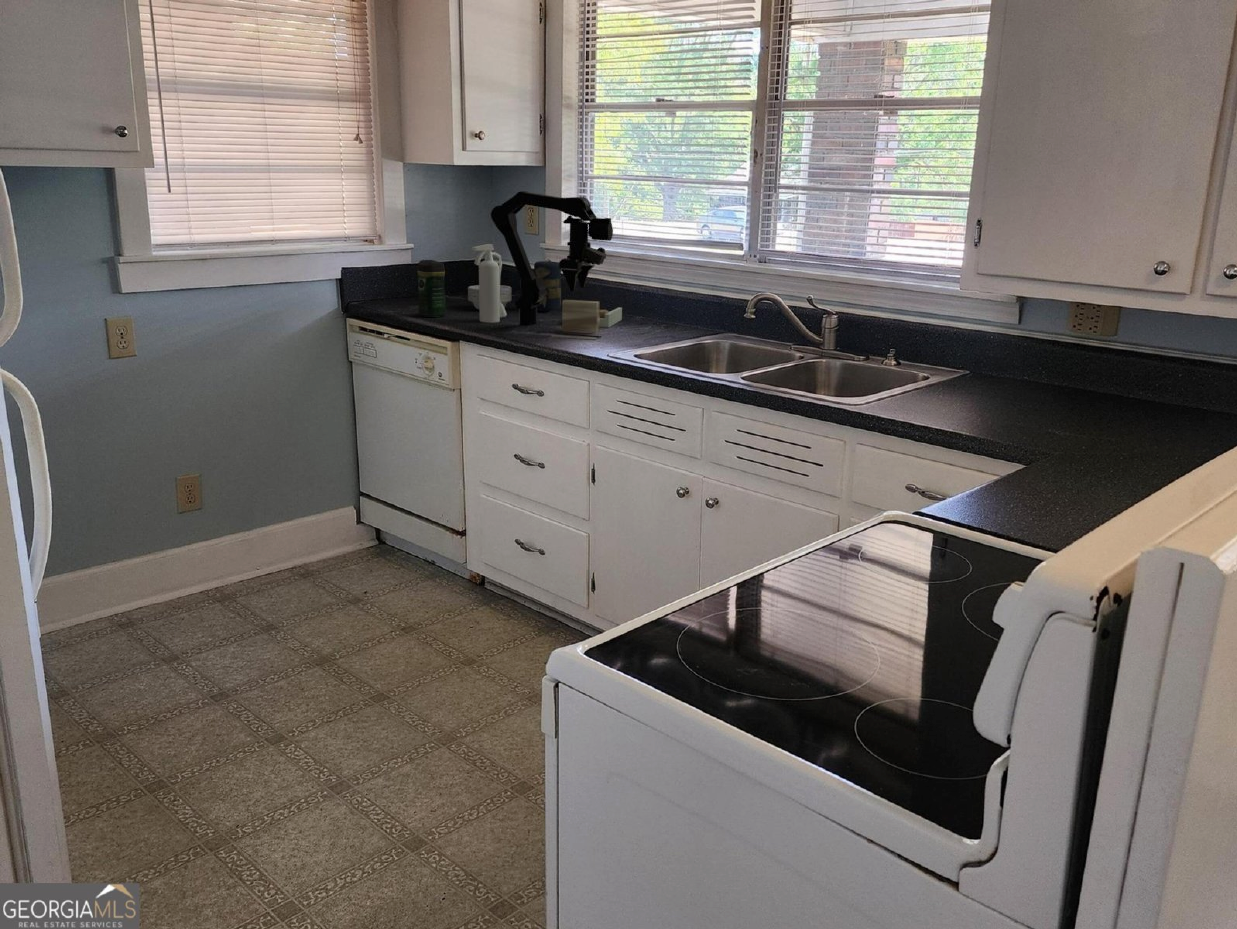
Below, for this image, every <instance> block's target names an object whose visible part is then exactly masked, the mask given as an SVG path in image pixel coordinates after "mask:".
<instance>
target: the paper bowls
mask: <svg viewBox="0 0 1237 929" xmlns="http://www.w3.org/2000/svg"><path fill="white" fill-rule="evenodd" d="M467 287H468V288H467V300H468V301H469V302H472V304H473V306H474V308H475V309H477V310H478V311H480V308H479V284H478V285H477V284H476V285H470V286H467ZM499 298H500V302H501V304H503V307H504V309H505V308H506V306H507V303H509V302H512V287H511V286H509V285H504V284H503V285H501V284H500V297H499Z"/></svg>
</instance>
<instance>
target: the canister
mask: <svg viewBox="0 0 1237 929" xmlns="http://www.w3.org/2000/svg"><path fill="white" fill-rule="evenodd" d="M559 262H560V261H552V260H551V259H549V258H547V259H546V260H544V261H543V260H542V261H541V260H540V261H536V262H534V264H533V265H534V266H533V273H534V274H535V276H536V277H537V278H538V277H542V279H543V283H544V285H545V287H546V289H545V291H546V295H545V297H544V299H543V300H542V301H541V302H540V304H539V306H536V307H537V312H538V311H540V312H551V311H555V310H556V311H558V310H560V309H561V308H562V304H561V301H562V271H561V269H562V268H559Z"/></svg>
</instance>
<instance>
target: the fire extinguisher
mask: <svg viewBox="0 0 1237 929" xmlns="http://www.w3.org/2000/svg"><path fill="white" fill-rule="evenodd" d="M471 251H475V252H477V251H479V252H478V253H477V255H476V257H475V259H474V265H476V266H478V285H479V308H480V310H479V322H482V323H490V324H491V323H492V324H493V323H499V322H500V319H501V318H503V317H505V318H506V316H507V311H506V309H505V308H504V307H503V304H501V302H500V298H499V297H500V285H501V274H502V268H503V262H502V256H501V255H500V253H497V252H496V251H495V250H494V245H493V244H491V243H486V244H481V245H477V246H472V247H471ZM492 251H495V252H492ZM484 255H485V256H484ZM493 256H495V257H497V258H498V262H497V261H495V260H494V258H493ZM483 257H484V260H482V258H483ZM481 260H482V261H481Z"/></svg>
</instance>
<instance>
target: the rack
mask: <svg viewBox="0 0 1237 929" xmlns="http://www.w3.org/2000/svg"><path fill="white" fill-rule="evenodd" d="M622 320H623V307H617V308H615V309H613V310H611V311H608V310H607V314H605V319H603V318H599V328H610V327H611V326H613V325H615V324H617V323H619V322H620V321H622Z"/></svg>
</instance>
